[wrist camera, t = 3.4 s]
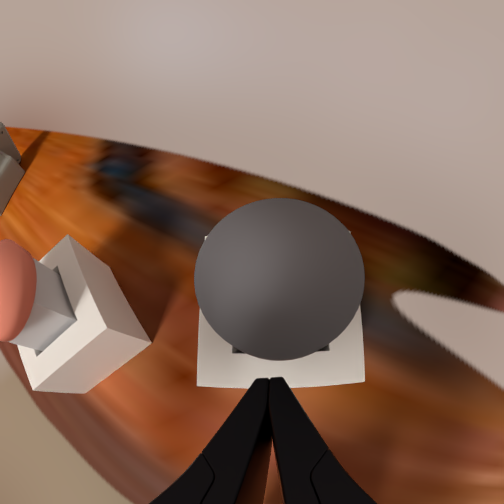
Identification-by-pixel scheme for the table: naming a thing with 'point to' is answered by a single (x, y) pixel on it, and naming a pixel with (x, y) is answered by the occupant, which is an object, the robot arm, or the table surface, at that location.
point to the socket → (293, 371)
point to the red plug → (31, 300)
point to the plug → (279, 278)
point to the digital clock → (8, 167)
